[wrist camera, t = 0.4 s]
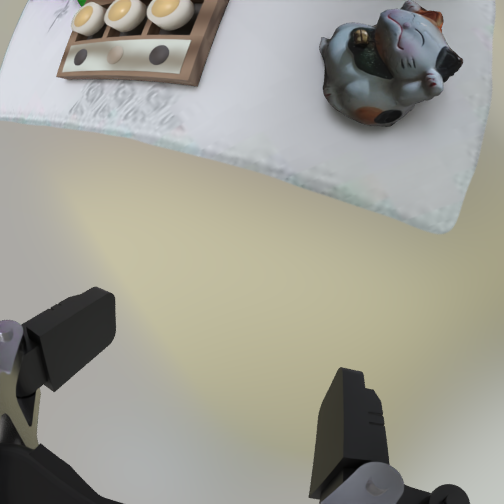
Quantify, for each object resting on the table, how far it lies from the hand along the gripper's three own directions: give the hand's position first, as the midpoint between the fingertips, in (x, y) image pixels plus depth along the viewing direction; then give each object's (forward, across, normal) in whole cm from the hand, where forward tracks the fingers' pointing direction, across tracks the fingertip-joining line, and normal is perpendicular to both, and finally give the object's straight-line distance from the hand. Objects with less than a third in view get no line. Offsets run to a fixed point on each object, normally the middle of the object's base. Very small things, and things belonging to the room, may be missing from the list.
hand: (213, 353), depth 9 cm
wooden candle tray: (+28, +29, -24) cm, 47 cm away
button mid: (+26, +29, -26) cm, 46 cm away
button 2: (+25, +21, -25) cm, 41 cm away
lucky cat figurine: (+29, -6, -21) cm, 36 cm away
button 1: (+25, +37, -26) cm, 52 cm away
